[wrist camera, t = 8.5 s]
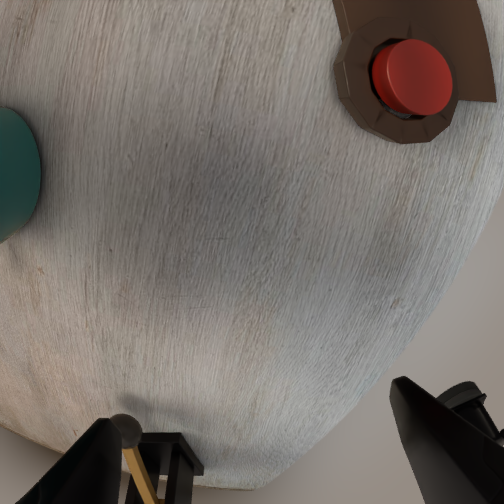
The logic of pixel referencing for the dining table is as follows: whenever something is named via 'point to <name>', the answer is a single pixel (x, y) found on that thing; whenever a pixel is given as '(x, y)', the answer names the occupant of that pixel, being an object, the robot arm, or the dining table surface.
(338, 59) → the button block
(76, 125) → the dining table surface
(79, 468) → the robot arm
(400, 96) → the button
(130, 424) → the switch lever
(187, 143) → the dining table surface
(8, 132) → the cup
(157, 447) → the switch bracket
